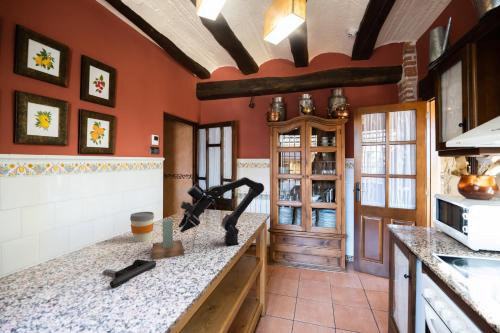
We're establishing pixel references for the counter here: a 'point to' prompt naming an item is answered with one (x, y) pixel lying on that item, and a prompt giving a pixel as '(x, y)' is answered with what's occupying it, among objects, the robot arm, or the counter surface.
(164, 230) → the green post
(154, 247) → the walnut base
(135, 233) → the reusable coffee cup
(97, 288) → the counter surface
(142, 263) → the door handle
